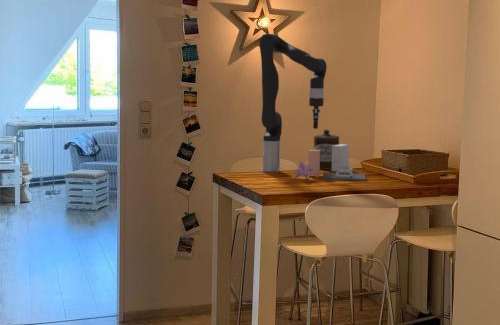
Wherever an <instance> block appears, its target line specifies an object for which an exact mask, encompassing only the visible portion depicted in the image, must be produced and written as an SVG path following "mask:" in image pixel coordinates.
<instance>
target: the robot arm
mask: <svg viewBox="0 0 500 325" xmlns="http://www.w3.org/2000/svg"><path fill="white" fill-rule="evenodd" d="M259 52H260V58H261V59H260V60H261V89H262V91H261V92H262V94H261V95H262V108H261V124H262V126H263V127H264V128H265V132H264V135H263V138H262V139H263V142H262V143H263V149H262V150H263V154H262V172H265V173H266V172H267V173H278V172H280V171H281V154H280V153H281V137H282V129H283V128H282V127H283V120H282V116H281V114H280V112H278V111H276V110H277V109H276V101H277V96H278V93H279V87H280V86H279V85H280V83H279V82H280V80H279V79H280V77H279V73H278V70H277V68H276V64H275V62H274V52H277V53H280V54H283V55H285V56H286V57H288V58H289V59H290V60H291V61H293V62H294V63H297V64H298V65H301V66H302V67H304V68H306V70H308V71H310V72H313V76H312V77H311V78H310V79H309V80H310V81H309V83H310V84H309V85H310V86H309V95H308V96H309V102H308V106H309V107H313V109H312V110H311V111H312V112H311V113H312V121H313V123H312V124H313V127H312V128H313V129H314V130H315V129H318V127H319V118H320V112H321V110H320V108H319V107H323V106H324V102H325V100H324V99H325V92H324V90H325V89H324V84H325V81H324V80H325V77H326V73H327V62H326V60H325V59H323V58H315V57H314V56H312V55H311V54H310V53H309V52H308V51H307V52H306V51H305V50H302V49H300V48H298V47H296V46H294V45H292V44H290V43H288V42H287V41H286V40H284V38H283V39H282V38H281V37H280V36H278V35H277V34H274V33H264V34H262V35H261V36H260V39H259Z"/></svg>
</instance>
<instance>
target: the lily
mask: <svg viewBox="0 0 500 325" xmlns="http://www.w3.org/2000/svg"><path fill="white" fill-rule="evenodd" d="M311 166H312V163H310V164H306V163H304V162H303V161H299V163H298V168H296V169H294V170H292V172H293V173H296V174H295V175H294V179H295V178H296V179H298V178H300V177H302V176H303V177H304V178H305V179H306V180H308V178H309V177H308V173H309V172H312V171H315V170H316V169H315V168H312V167H311Z"/></svg>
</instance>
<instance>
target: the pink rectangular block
mask: <svg viewBox="0 0 500 325" xmlns="http://www.w3.org/2000/svg"><path fill="white" fill-rule="evenodd" d="M307 152H308V156H307V158H308V159H307V163H308V164H310V163H312V166H311V167H312V168H315V169H316V170H315V171H312V172H309V173H308V176H315V177H314V178H319V177H320V170H321V169H320V150H314V149H308V151H307ZM308 164H307V165H308Z"/></svg>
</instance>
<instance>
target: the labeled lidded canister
mask: <svg viewBox="0 0 500 325" xmlns="http://www.w3.org/2000/svg"><path fill="white" fill-rule="evenodd" d="M339 144H340V136H339V135H333V134H330V130H329V129H324V130H323V134H321V135H320V134H319V135H317V134H316V135H313V150H320V170H332V145H339Z"/></svg>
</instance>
